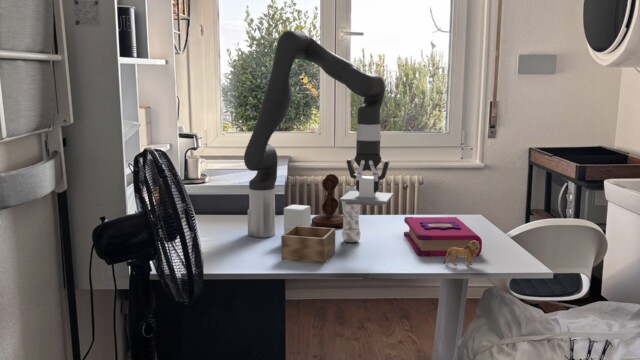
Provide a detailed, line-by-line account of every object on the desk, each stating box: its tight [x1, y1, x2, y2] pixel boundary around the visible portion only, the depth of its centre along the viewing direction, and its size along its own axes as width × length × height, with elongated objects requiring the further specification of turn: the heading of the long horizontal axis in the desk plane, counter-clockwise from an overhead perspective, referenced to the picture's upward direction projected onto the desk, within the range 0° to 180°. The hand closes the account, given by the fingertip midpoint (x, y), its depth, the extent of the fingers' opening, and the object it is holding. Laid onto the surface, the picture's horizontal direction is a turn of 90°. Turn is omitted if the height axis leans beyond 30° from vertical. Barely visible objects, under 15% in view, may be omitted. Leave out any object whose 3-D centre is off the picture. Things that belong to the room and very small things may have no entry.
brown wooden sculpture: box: [311, 173, 344, 229], centre depth 238 cm, size 15×15×20 cm
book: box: [403, 216, 483, 258], centre depth 212 cm, size 21×28×8 cm
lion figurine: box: [442, 240, 480, 267], centre depth 189 cm, size 12×4×7 cm, turn 103°
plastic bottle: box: [341, 184, 361, 243], centre depth 213 cm, size 6×7×20 cm
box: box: [280, 226, 336, 265], centre depth 197 cm, size 14×14×8 cm
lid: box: [339, 175, 395, 207], centre depth 194 cm, size 15×15×8 cm
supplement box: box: [283, 204, 312, 234], centre depth 214 cm, size 7×7×13 cm
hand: (367, 191), depth 194 cm, fingers closed on lid, 4 cm apart
